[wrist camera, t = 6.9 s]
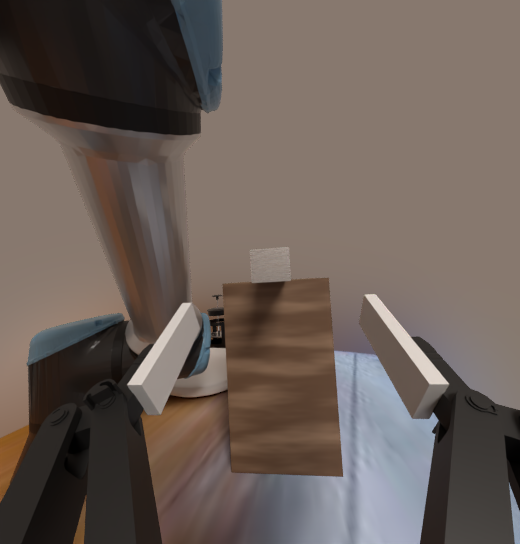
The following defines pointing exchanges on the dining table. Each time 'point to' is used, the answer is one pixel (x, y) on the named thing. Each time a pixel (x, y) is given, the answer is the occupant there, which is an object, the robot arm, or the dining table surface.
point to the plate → (205, 378)
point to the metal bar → (270, 265)
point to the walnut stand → (282, 378)
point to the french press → (217, 341)
